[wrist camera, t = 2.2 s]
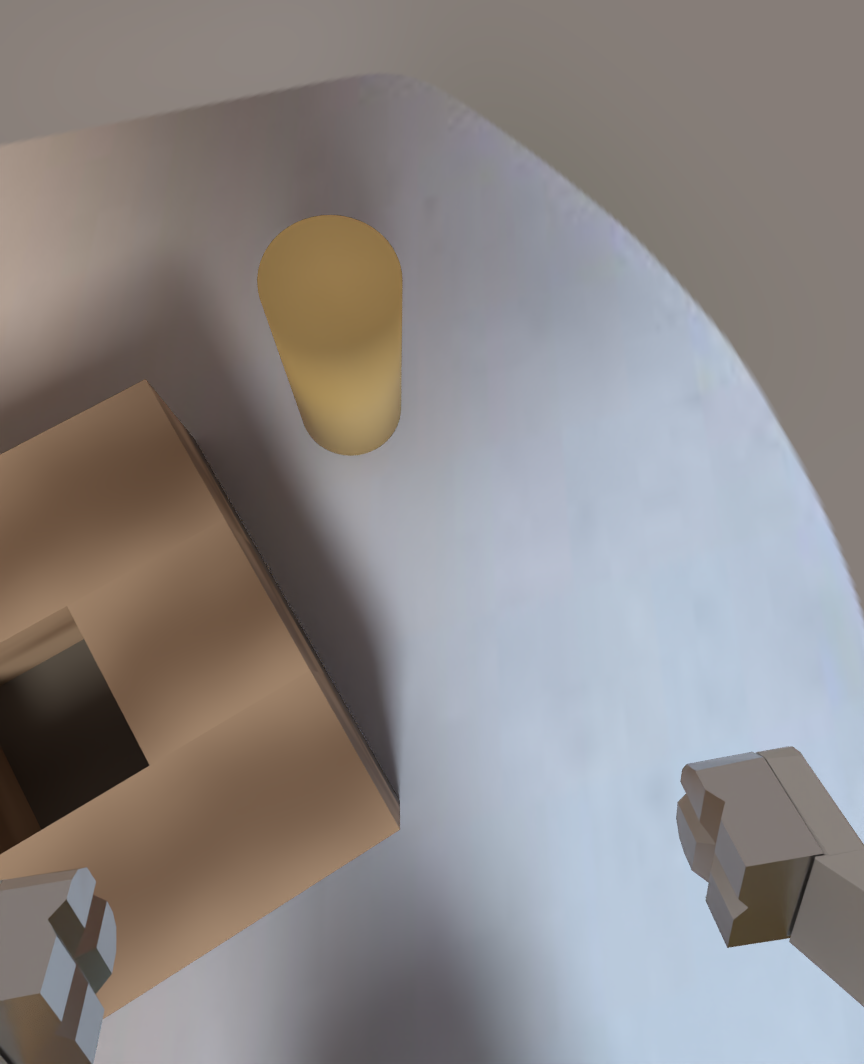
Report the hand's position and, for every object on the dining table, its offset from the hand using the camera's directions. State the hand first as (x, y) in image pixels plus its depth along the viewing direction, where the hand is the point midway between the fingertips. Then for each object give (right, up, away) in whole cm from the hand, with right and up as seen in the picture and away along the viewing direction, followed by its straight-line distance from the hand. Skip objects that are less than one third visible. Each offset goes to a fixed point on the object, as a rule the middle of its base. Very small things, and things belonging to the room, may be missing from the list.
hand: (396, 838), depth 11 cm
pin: (-3, +9, +21) cm, 23 cm away
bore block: (-12, -3, +18) cm, 21 cm away
